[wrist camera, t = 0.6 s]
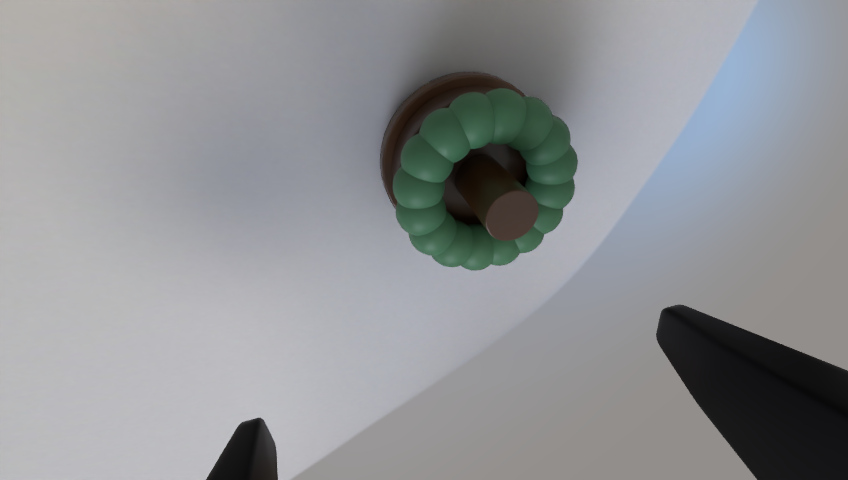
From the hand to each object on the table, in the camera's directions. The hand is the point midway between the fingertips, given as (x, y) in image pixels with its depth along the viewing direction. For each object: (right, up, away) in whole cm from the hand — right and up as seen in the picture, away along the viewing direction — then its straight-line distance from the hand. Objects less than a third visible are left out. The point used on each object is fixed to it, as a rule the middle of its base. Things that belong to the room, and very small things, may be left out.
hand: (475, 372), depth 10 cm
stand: (+1, +7, +11) cm, 13 cm away
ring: (+1, +6, +9) cm, 11 cm away
